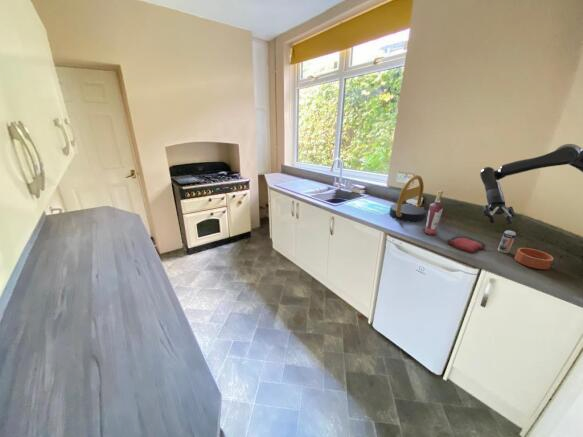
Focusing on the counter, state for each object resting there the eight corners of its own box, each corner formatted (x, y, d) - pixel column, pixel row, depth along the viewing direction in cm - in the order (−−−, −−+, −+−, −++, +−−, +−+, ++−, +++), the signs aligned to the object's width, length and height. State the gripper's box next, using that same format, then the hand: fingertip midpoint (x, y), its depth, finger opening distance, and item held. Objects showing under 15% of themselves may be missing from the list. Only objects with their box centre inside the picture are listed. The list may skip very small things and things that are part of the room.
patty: (471, 254, 125) (472, 251, 124) (444, 244, 136) (445, 241, 135) (487, 247, 133) (488, 244, 132) (460, 237, 144) (461, 234, 143)
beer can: (495, 250, 130) (502, 230, 125) (500, 248, 131) (508, 229, 127) (505, 254, 126) (513, 234, 121) (510, 252, 127) (518, 232, 123)
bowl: (549, 264, 117) (554, 254, 115) (547, 273, 109) (552, 263, 107) (516, 254, 126) (519, 245, 124) (512, 262, 118) (515, 252, 116)
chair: (433, 216, 180) (443, 175, 169) (411, 227, 160) (421, 181, 148) (401, 207, 198) (409, 170, 187) (378, 216, 177) (385, 175, 166)
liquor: (432, 237, 145) (443, 193, 135) (420, 232, 151) (430, 190, 140) (438, 234, 149) (449, 191, 139) (427, 230, 154) (437, 188, 144)
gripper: (485, 193, 135) (491, 219, 128) (513, 195, 133) (521, 221, 126) (477, 200, 142) (482, 224, 135) (504, 201, 140) (510, 226, 133)
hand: (501, 223), depth 131 cm, fingers open, 8 cm apart
